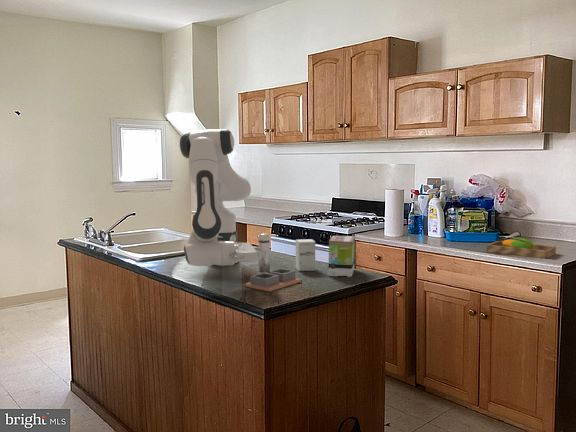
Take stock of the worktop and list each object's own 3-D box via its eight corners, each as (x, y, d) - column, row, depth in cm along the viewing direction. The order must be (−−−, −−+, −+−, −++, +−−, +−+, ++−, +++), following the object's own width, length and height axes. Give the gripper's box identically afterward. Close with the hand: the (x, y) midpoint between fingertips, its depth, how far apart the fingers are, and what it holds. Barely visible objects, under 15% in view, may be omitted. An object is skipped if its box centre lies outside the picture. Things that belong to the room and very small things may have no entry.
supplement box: (298, 271, 227) (298, 242, 225) (295, 268, 234) (295, 239, 233) (315, 270, 228) (315, 241, 227) (312, 267, 235) (312, 238, 234)
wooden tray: (486, 252, 267) (486, 245, 266) (496, 247, 278) (496, 241, 278) (547, 258, 249) (547, 251, 249) (555, 253, 261) (555, 246, 260)
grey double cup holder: (245, 286, 202) (245, 275, 202) (276, 277, 216) (276, 267, 216) (269, 291, 195) (269, 280, 194) (300, 282, 209) (300, 271, 208)
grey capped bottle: (256, 271, 200) (256, 234, 199) (263, 269, 203) (263, 233, 202) (264, 273, 198) (264, 235, 196) (272, 271, 201) (271, 234, 199)
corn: (526, 240, 254) (496, 234, 272) (525, 256, 254) (495, 249, 273) (539, 240, 256) (508, 234, 275) (537, 256, 257) (507, 249, 276)
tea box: (352, 277, 216) (353, 241, 214) (327, 276, 217) (327, 240, 216) (354, 269, 230) (355, 235, 229) (331, 268, 232) (331, 234, 230)
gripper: (231, 249, 187) (270, 247, 189) (226, 240, 207) (262, 239, 209) (231, 267, 188) (271, 265, 190) (227, 256, 208) (262, 255, 210)
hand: (266, 251), depth 200 cm, fingers closed on grey capped bottle, 4 cm apart
